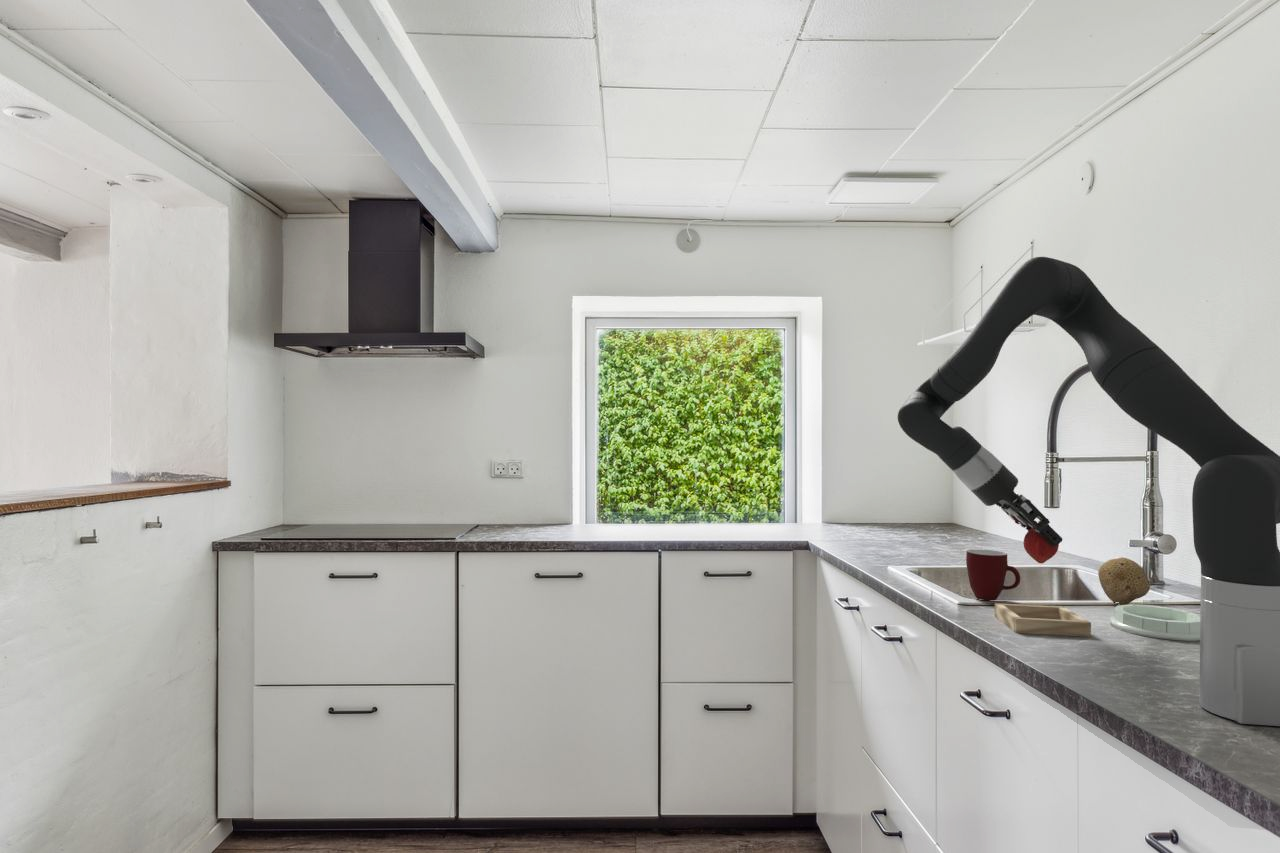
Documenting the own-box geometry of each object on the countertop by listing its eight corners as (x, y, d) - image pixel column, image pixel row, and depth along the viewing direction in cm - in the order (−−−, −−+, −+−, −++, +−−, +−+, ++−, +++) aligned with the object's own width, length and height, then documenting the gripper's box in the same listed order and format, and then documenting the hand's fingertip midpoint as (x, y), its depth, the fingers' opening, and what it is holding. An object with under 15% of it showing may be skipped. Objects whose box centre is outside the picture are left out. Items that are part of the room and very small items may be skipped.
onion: (1063, 566, 137) (1063, 522, 137) (1028, 565, 138) (1029, 521, 138) (1052, 561, 142) (1052, 519, 142) (1019, 560, 143) (1020, 518, 144)
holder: (1090, 636, 133) (1090, 622, 133) (1015, 632, 135) (1016, 618, 135) (1062, 619, 145) (1062, 606, 145) (994, 615, 147) (994, 603, 147)
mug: (1018, 598, 164) (1019, 552, 164) (1021, 605, 156) (1021, 557, 156) (965, 593, 168) (966, 548, 168) (965, 600, 161) (966, 553, 161)
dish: (1228, 642, 130) (1228, 625, 130) (1133, 638, 133) (1134, 620, 133) (1180, 621, 145) (1180, 605, 145) (1096, 617, 147) (1096, 601, 147)
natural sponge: (1140, 602, 161) (1141, 555, 161) (1156, 612, 153) (1157, 562, 153) (1092, 599, 164) (1093, 553, 164) (1106, 608, 155) (1106, 560, 155)
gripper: (1012, 462, 134) (1083, 532, 132) (988, 460, 148) (1051, 522, 147) (980, 491, 135) (1050, 561, 133) (959, 486, 149) (1022, 549, 147)
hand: (1051, 540), depth 140 cm, fingers closed on onion, 6 cm apart
